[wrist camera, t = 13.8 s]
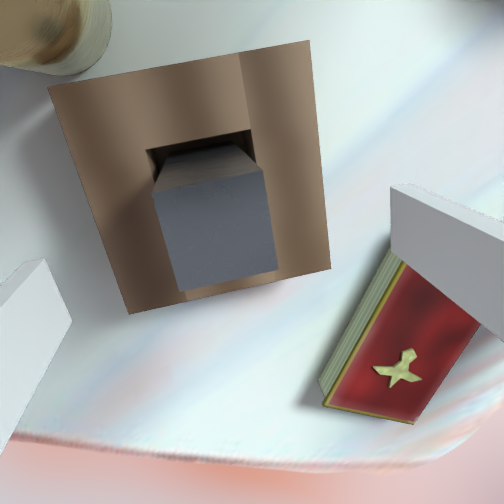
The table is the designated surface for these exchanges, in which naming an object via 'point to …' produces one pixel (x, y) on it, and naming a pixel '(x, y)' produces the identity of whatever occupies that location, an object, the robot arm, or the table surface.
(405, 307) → the hardcover book
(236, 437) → the table surface
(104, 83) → the socket block
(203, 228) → the square bit
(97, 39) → the round bit
